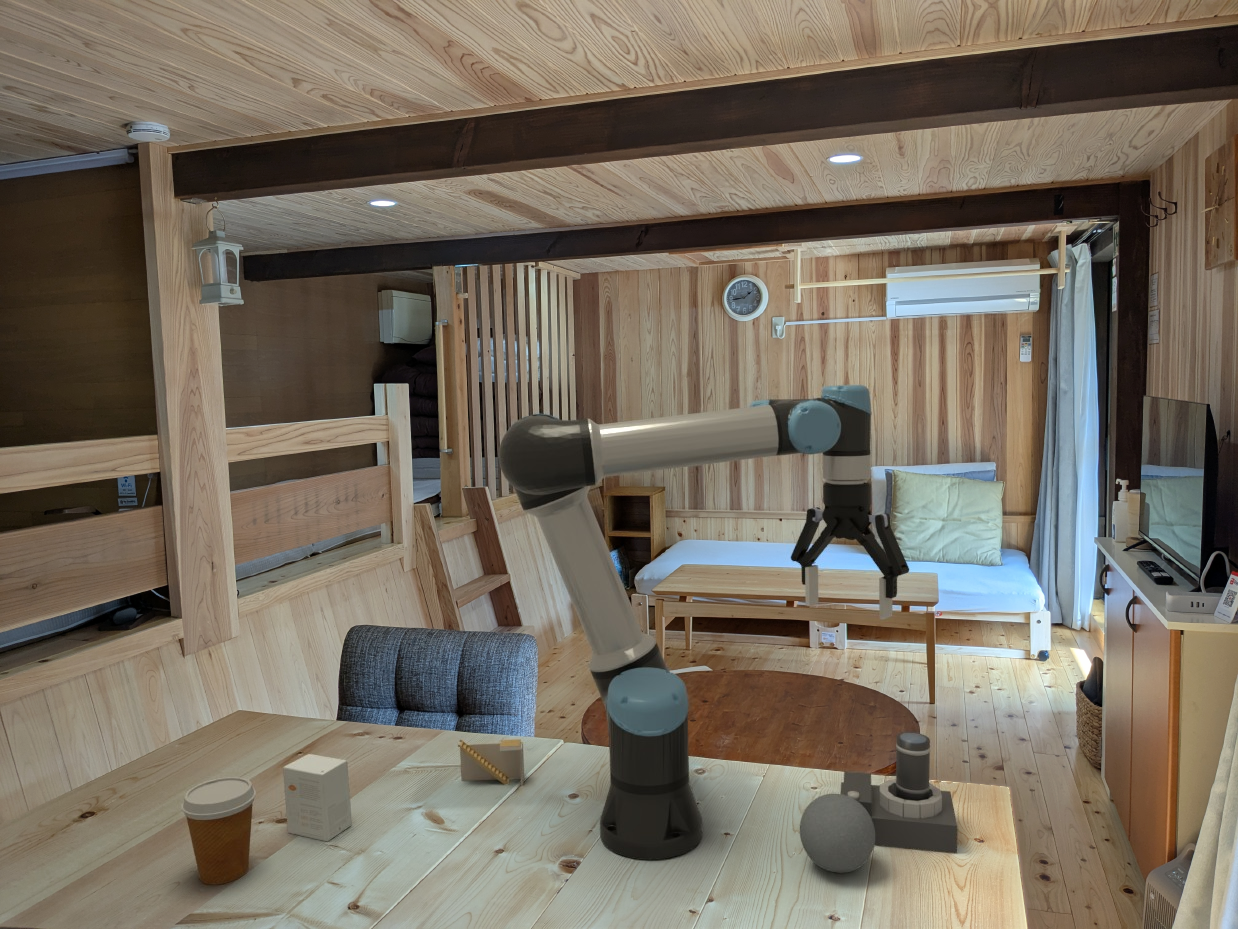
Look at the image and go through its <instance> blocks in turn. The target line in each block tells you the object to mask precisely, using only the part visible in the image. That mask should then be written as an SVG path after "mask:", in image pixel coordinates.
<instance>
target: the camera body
mask: <svg viewBox="0 0 1238 929" xmlns="http://www.w3.org/2000/svg"><path fill="white" fill-rule="evenodd" d="M843 773H844V774H843V782H841V783H840V793H839V794H843V795H846V796H849V797H851V798H853V799H855V800H856V801H858V802H859V803H860V804H861V805H862V806H863V807H864V808H865V809H866V810H867V812H868V813H869V815H870V817H871V819H872V822H873V825H874V829H875V845H874V846H878V847H879V846H880V847H889V848H898V849H900V848H901V849H908V850H909V849H910V850H919V851H928V852H929V851H931V852H938V853H939V852H941V853H951V854H958V822H957V817H956V812H955V807H954V802H953V798H952V792H951V791H950V790H949V791H948V790H941V789H940V788H939V787H937V786H936V785H934V784H932V783H931V782H929V784H930V789H929V799H926V800H920V801H913V800H904V799H901V798H898V797H896V778H891V779H887V780H885V781H883V782H882V783H881V784H880V785H879V784H872V773H871V772H870V773H868V772H858V771H857V772H856V771H844V772H843Z"/></svg>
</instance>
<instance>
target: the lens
mask: <svg viewBox="0 0 1238 929" xmlns="http://www.w3.org/2000/svg"><path fill="white" fill-rule="evenodd" d="M930 739H931V738H929V737H928V736H927V735H924V734H922V733H918V732H914V731H913V732H911V731H910V732H909V731H907V732H902V733H898V734H897V735H896V743H895V747H896V750H895V751H896V762H895V763H896V764H895V766H896V767H895V768H896V769H895V772H896V773H895V776H896V777H895V779H896V797H898V798H901V799H904V800H913V801H920V800H926V799H929V789H930V784H929V783H930V764H931V762H930V760H931V759H930V755H931V754H930V752H931V740H930Z"/></svg>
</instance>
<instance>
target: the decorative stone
mask: <svg viewBox="0 0 1238 929" xmlns="http://www.w3.org/2000/svg"><path fill="white" fill-rule="evenodd" d="M799 836H800V841H801V846H802V847H803V850H804V851H805V854H806V855H807V856H808V858H810V860H811V861H812V862H813V863H814V864H816V865H817V866H818V867H820V868H821V869H824V870H826V871H828V872H832V873H839V874H840V873H842V874H843V873H845V874H846V873H850V872H853V871H855V870H858V869H859V868H861V867H862V866H863V865H864V864H865V863H866V862H867V861H868V860H869V859H870V857H871V855H872V853H873V850H874V848H875V846H876V845H875V829H874V825H873V822H872V819H871V817H870V815H869V813H868V812H867V810H866V809H865V808H864V807H863V806H862V805H861V804H860V803H859V802H858V801H856V800H855V799H853V798H851V797H849V796H846V795H843V794H840V793H826V794H822V795H820V796H818V797H816V798H815V799H813V800H812V801H811V802H810V803H809V804H808V805H807V806H806V808H805V809H804V811H803V813H802V815H801V818H800V823H799Z"/></svg>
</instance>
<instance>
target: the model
mask: <svg viewBox="0 0 1238 929" xmlns="http://www.w3.org/2000/svg"><path fill="white" fill-rule="evenodd" d="M459 743H460V744H457V747H458V748H459V756H460V757H459V758H460V774H461V776H460V777H461V782H465V781H466V782H469V781H492V780H494V781H495V780H498V781H499V782H500V783H502V784H503V785H510V780H513V779H520V786H521V787H522V786H524V783H525V782H524V781H525V762H524V761H525V759H524V741H522V739H500V742H488V743H487V742H486V743H484V742H483V743H466V742H464V740H462V739H459Z"/></svg>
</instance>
